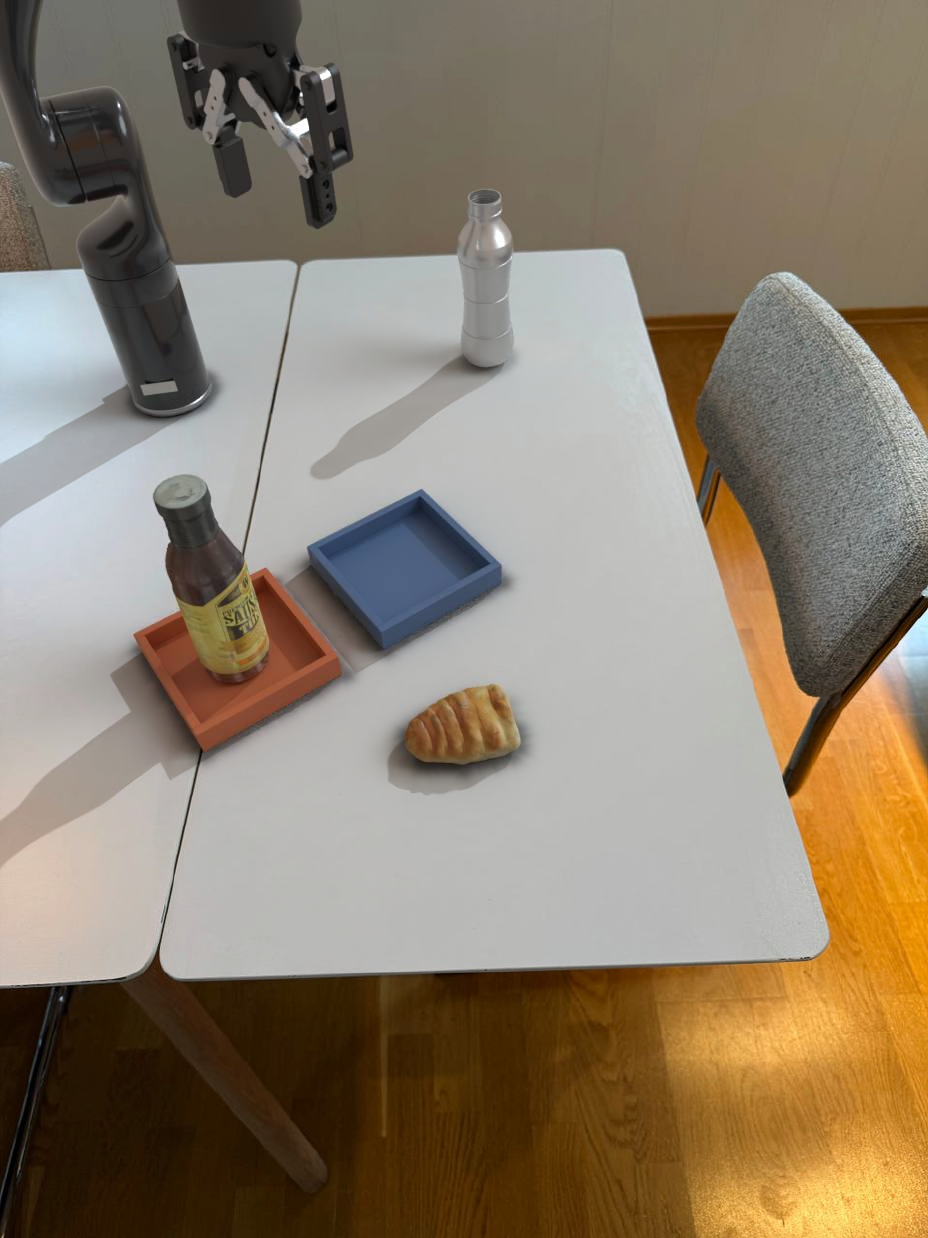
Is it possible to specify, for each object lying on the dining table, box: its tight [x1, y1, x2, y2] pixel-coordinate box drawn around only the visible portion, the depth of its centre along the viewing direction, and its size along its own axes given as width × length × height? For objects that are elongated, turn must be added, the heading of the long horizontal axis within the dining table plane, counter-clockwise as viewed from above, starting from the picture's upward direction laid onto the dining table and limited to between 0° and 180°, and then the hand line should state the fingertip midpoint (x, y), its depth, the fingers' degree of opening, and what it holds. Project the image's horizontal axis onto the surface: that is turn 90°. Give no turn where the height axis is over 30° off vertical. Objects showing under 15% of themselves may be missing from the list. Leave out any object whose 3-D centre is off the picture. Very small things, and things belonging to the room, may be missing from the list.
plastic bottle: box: [455, 188, 515, 368], centre depth 103 cm, size 6×7×20 cm
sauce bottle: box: [152, 473, 269, 684], centre depth 74 cm, size 7×6×20 cm
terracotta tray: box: [132, 566, 343, 753], centre depth 81 cm, size 14×14×3 cm
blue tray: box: [306, 488, 503, 651], centre depth 87 cm, size 14×14×3 cm
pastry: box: [404, 683, 522, 766], centre depth 74 cm, size 9×7×4 cm
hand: (279, 207), depth 66 cm, fingers open, 8 cm apart
